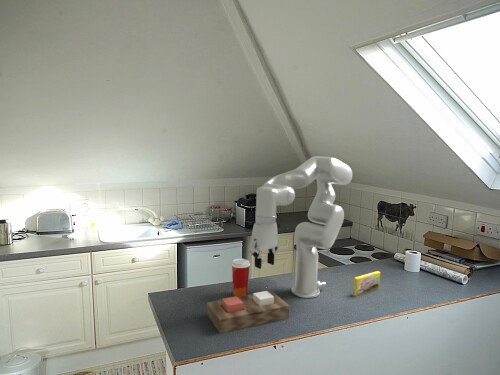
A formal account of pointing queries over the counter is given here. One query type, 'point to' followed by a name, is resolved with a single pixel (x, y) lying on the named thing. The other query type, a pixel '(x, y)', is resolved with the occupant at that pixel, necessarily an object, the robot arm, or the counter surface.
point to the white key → (263, 298)
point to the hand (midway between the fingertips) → (264, 265)
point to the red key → (232, 304)
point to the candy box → (366, 283)
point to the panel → (246, 313)
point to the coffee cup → (240, 276)
